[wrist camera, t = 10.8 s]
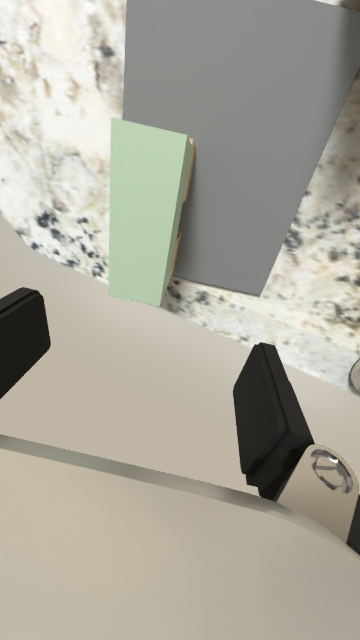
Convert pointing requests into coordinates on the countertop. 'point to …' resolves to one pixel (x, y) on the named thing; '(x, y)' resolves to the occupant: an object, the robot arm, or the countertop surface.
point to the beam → (144, 208)
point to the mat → (240, 116)
